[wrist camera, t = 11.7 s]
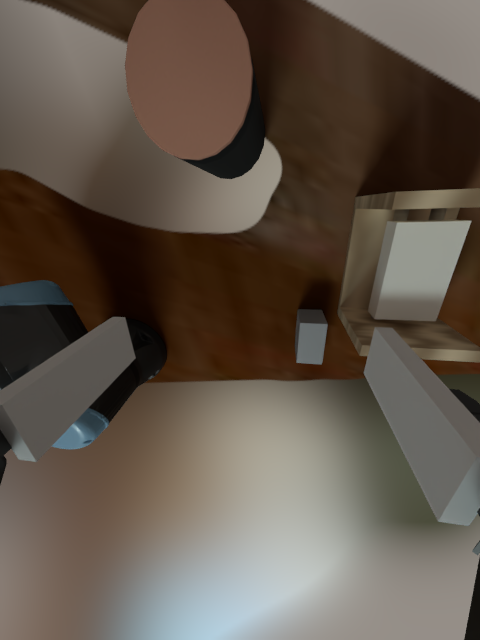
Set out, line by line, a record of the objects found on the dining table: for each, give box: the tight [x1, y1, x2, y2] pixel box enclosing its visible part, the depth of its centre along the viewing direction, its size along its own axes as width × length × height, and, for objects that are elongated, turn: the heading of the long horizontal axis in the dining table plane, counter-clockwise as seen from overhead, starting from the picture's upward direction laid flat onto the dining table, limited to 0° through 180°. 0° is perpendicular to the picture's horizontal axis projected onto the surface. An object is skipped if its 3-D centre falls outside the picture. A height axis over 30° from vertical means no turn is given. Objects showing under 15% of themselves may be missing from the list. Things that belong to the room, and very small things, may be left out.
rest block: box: [295, 309, 328, 364], centre depth 44 cm, size 4×8×6 cm, turn 2°
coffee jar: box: [125, 0, 265, 179], centre depth 27 cm, size 11×11×18 cm
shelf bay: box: [337, 188, 480, 362], centre depth 33 cm, size 14×19×14 cm
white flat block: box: [368, 220, 471, 321], centre depth 32 cm, size 8×13×3 cm, turn 2°
